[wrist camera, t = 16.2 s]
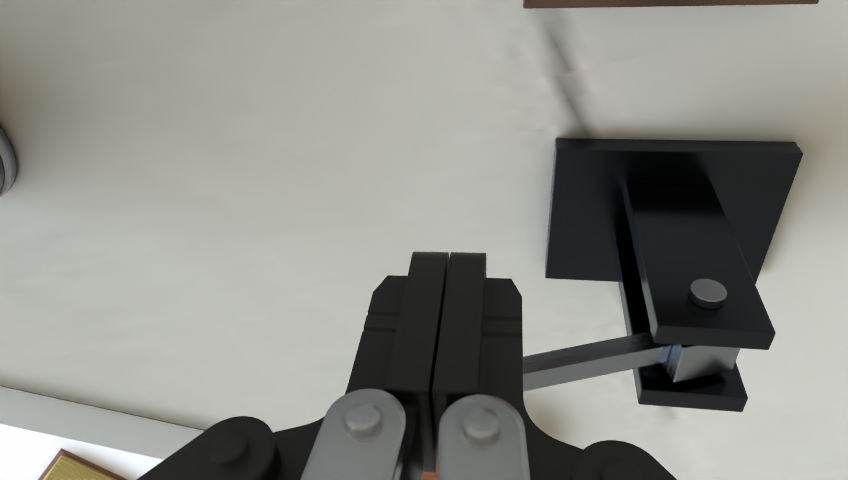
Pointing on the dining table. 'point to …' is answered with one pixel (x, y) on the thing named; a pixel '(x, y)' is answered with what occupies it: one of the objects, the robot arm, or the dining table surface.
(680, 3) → the button block
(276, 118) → the dining table surface
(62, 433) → the decorative still life
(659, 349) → the lever
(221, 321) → the dining table surface
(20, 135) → the dining table surface
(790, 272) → the dining table surface
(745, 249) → the bracket
